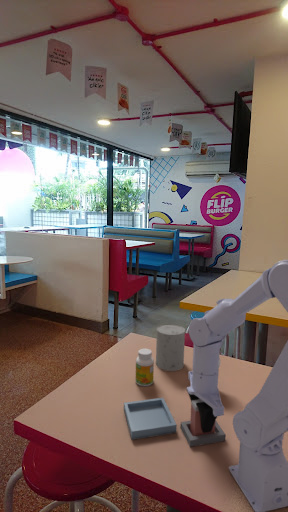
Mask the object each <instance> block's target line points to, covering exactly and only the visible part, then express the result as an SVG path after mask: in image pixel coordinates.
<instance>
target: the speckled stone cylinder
mask: <svg viewBox="0 0 288 512" xmlns="http://www.w3.org/2000/svg"><path fill="white" fill-rule="evenodd" d="M185 336H186V328H185V327H184V326H181V325H179V324H175V323H174V324H173V323H165V324H161V325H158V326H157V327H156V341H155V342H156V343H155V345H156V346H155V347H156V348H155V366H156V367H157V368H158V369H160V370H162V371H167V372H176V371H179V370H182V369H183V368H184V366H185V363H184V362H185V360H184V359H185V339H186V337H185Z"/></svg>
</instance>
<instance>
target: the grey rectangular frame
mask: <svg viewBox="0 0 288 512" xmlns="http://www.w3.org/2000/svg"><path fill="white" fill-rule="evenodd" d="M190 422H191V420H186V421H181V422H180V427H179V428H180V430H181V432H182V434H183V436H184V438H185V440H186V442H187V444H188V446H189V447H197V446H204V445H208V444H214V443H220V442H225V441H226V433H225V431H224V430H223V428H222V427H221V425H220V424H219V423H218V422H217V420H216V421H215V433H212V434H206V435H199V436H192V434H191V432H190Z"/></svg>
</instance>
